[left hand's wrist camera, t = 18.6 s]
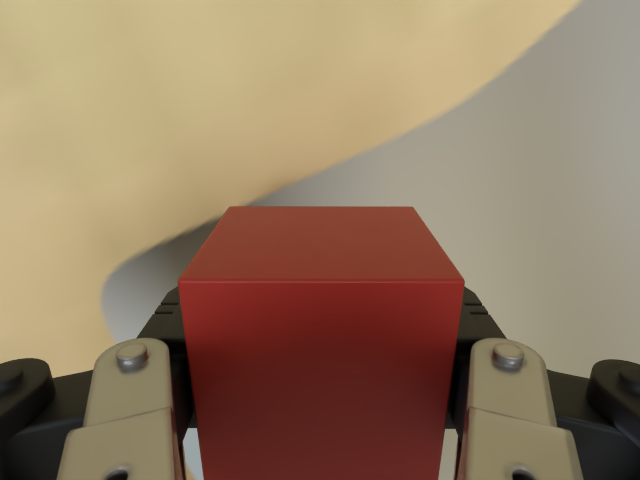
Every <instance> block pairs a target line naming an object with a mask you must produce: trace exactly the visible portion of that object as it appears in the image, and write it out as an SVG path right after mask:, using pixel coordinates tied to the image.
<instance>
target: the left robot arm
mask: <svg viewBox="0 0 640 480" xmlns="http://www.w3.org/2000/svg"><path fill="white" fill-rule="evenodd" d="M188 428H197V424H196V416H195V409H194V401H193V394H192V386H191V378H190V371H189V363H188V356H187V348H186V341H185V333H184V326H183V318H182V311H181V303H180V295H179V288H178V286H177V287H176V288H175V289H173V290H171V291H170V292H168V294H167V295H166V296H165V298H164V299H163V301H162V302H161V305H159V306H158V308H157V309H156V311H155V314H153V315H152V317H151V318H150V319H149V321H148V322H147V324H146V325H145V327H144V328H143V329H142V331H141V332H140V334H139V335H138V337H137V338H136V339H132V340H127V341H124V342H121V343H119V344H116V345H114V346H112V347H110V348H109V349H107V350H106V351H105V352H103V353H102V354H101V355H100V356H99V357H98V359H97V360H96V362H95V365H94V370H90V371H86V372H82V373H77V374H72V375H66V376H61V377H56V378H52V375H51V371H50V368H49V365H48V364H47V363H46V362H45V361H43V360H40V359H34V358H25V359H17V360H12V361H8V362H5V363H2V364H0V480H187V476H186V465H185V454H184V447H183V439H184V437H185V434H186V431H187V429H188ZM445 429H456V431H457V434H458V440H457V447H456V455H455V466H454V477H453V480H640V365H639V364H636V363H632V362H629V361H623V360H612V359H610V360H603V361H599V362H597V363H596V364H595V365H594V366H593V368H592V371H591V375H590V378H589V379H588V378H583V377H578V376H573V375H568V374H563V373H559V372H554V371H551V370H547V369H546V365H545V362H544V360H543V359H542V357H541V356H540V355H539V354H538V353H537V352H535V351H534V350H533V349H531V348H529V347H528V346H526V345H524V344H521V343H519V342H516V341H512V340H508V339H507V338H506V337H505V335H504V334H503V333H502V331H501V330H500V328H499V327H498V326H497V324H496V323H495V321H494V320H493V318H492V317H491V316H490V315H488V311H487V310H486V309H485V307H484V306H482V303H481V302H480V300H479V299H478V297H477V296H476V294H475V293H474V292H472V291H471V290H469V289H468V288H466V287H464V291H463V299H462V306H461V313H460V321H459V328H458V336H457V343H456V350H455V358H454V365H453V373H452V380H451V387H450V395H449V402H448V410H447V417H446V424H445Z"/></svg>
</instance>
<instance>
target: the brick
mask: <svg viewBox="0 0 640 480" xmlns="http://www.w3.org/2000/svg"><path fill="white" fill-rule="evenodd" d="M464 284H465V281H464V279H463V277H462V276H461V275H460V273H459V272H458V270H457V269H456V267H455V266H454V265H453V263H452V262H451V260H450V259H449V258H448V256H447V255H446V253H445V252H444V250H443V249H442V248H441V246H440V245H439V243H438V242H437V241H436V239H435V238H434V236H433V235H432V233H431V232H430V231H429V229H428V228H427V226H426V225H425V223H424V222H423V221H422V219H421V218H420V216H419V215H418V214H417V212H416V211H415V209H414V208H413V207H229V208H228V209H227V211H226V212H225V214H224V215H223V217H222V218H221V219H220V221H219V222H218V224H217V225H216V226H215V228H214V229H213V231H212V232H211V234H210V235H209V236H208V238H207V239H206V241H205V242H204V244H203V245H202V246H201V248H200V249H199V251H198V252H197V253H196V255H195V256H194V258H193V259H192V261H191V262H190V263H189V265H188V266H187V268H186V269H185V271H184V272H183V274H182V275H181V276H180V278H179V279H178V288H179V295H180V303H181V311H182V318H183V326H184V333H185V341H186V348H187V356H188V363H189V371H190V378H191V386H192V394H193V401H194V409H195V416H196V424H197V431H198V439H199V446H200V454H201V462H202V469H203V477H204V480H438V476H439V469H440V461H441V454H442V446H443V439H444V432H445V424H446V417H447V410H448V402H449V395H450V387H451V380H452V373H453V365H454V358H455V350H456V343H457V336H458V328H459V321H460V313H461V306H462V299H463V291H464Z"/></svg>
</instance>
